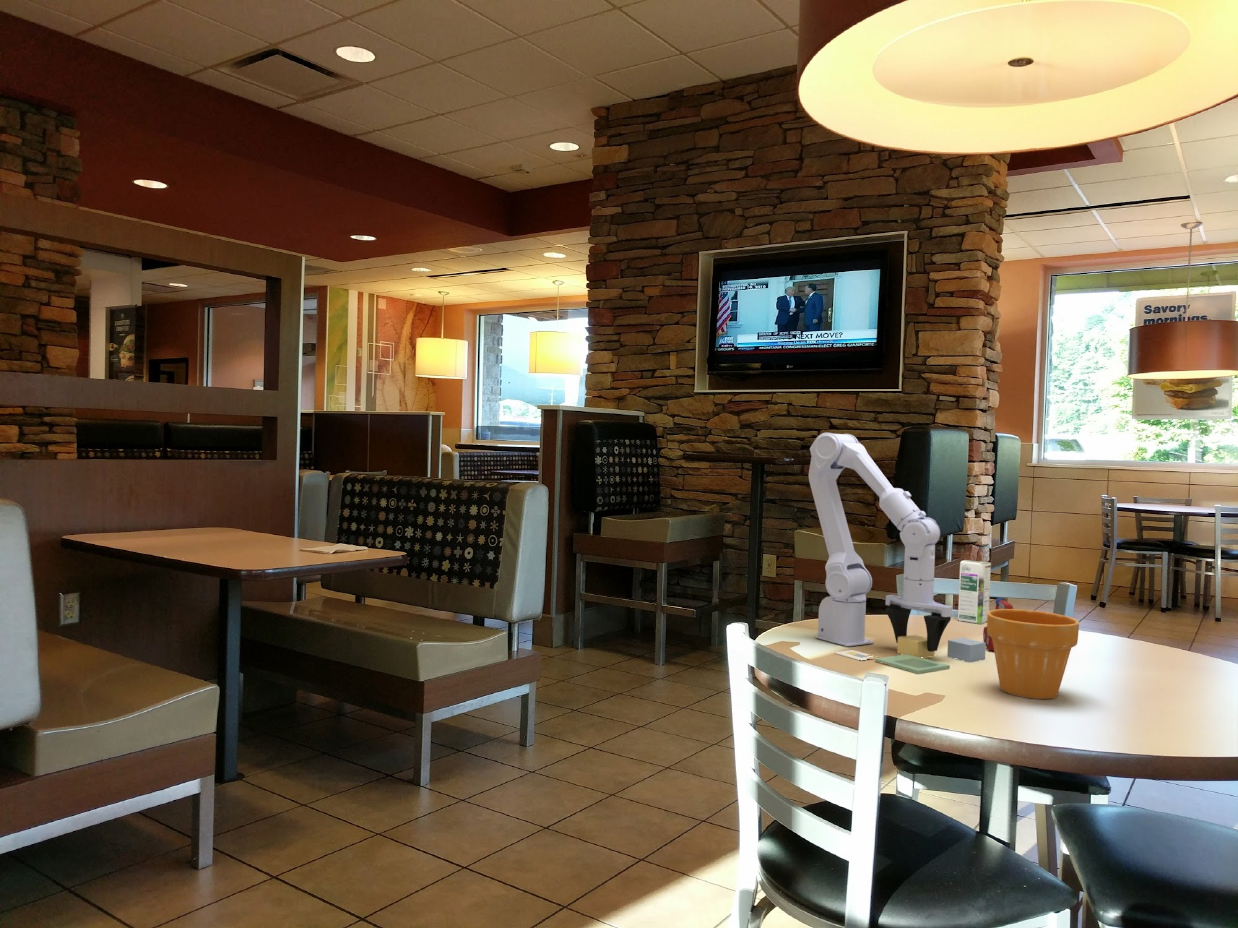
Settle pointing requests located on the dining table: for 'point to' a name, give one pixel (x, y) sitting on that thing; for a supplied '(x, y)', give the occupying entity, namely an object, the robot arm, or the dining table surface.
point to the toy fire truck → (986, 638)
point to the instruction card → (854, 654)
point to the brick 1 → (914, 646)
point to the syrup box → (974, 591)
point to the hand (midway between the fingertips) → (916, 646)
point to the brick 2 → (966, 649)
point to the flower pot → (1031, 650)
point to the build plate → (913, 663)
